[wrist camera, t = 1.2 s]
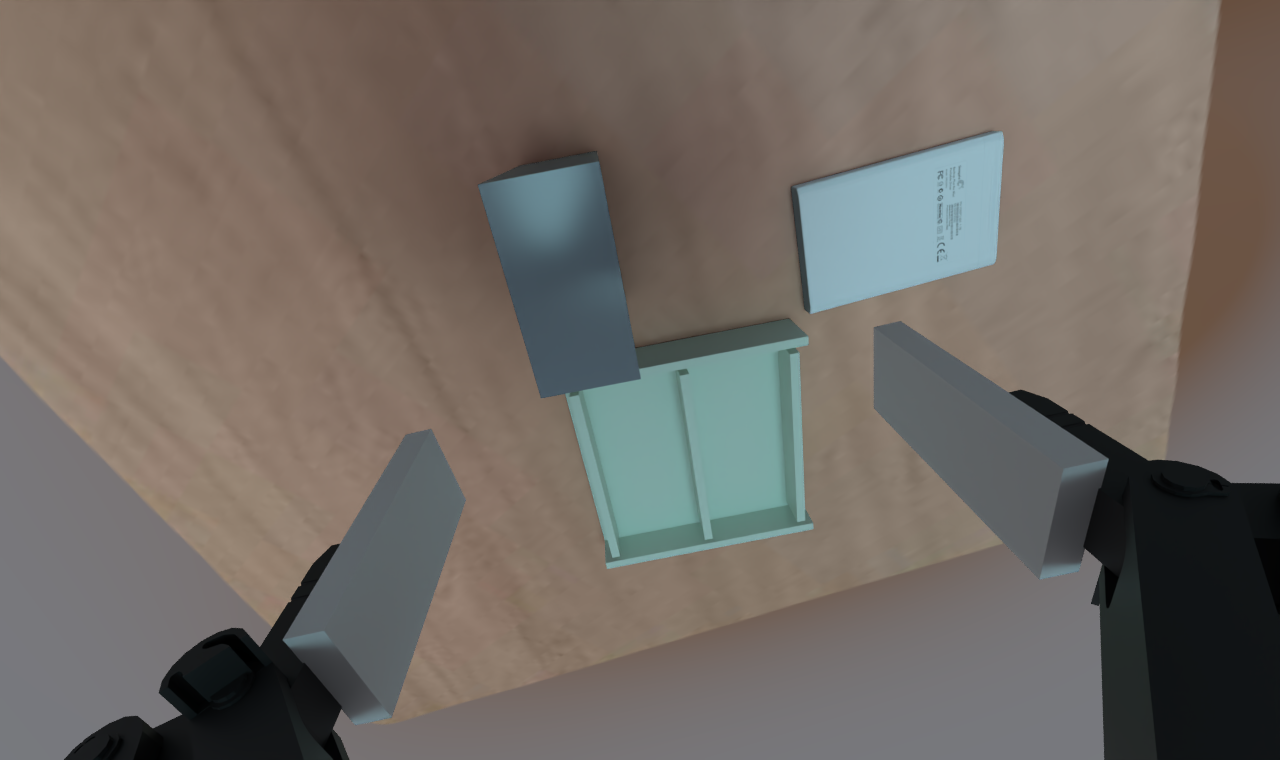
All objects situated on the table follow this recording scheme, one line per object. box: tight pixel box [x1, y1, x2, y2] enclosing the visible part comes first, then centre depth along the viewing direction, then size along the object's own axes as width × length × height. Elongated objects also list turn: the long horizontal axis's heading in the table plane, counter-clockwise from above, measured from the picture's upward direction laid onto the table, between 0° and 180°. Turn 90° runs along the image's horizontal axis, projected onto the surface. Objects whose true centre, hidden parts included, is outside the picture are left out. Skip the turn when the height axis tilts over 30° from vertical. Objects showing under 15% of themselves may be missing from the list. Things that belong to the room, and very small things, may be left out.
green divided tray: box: [565, 319, 813, 569], centre depth 37 cm, size 16×16×3 cm
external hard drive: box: [791, 131, 1004, 314], centre depth 32 cm, size 2×8×12 cm
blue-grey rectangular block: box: [478, 151, 641, 398], centre depth 26 cm, size 9×4×12 cm, turn 10°
